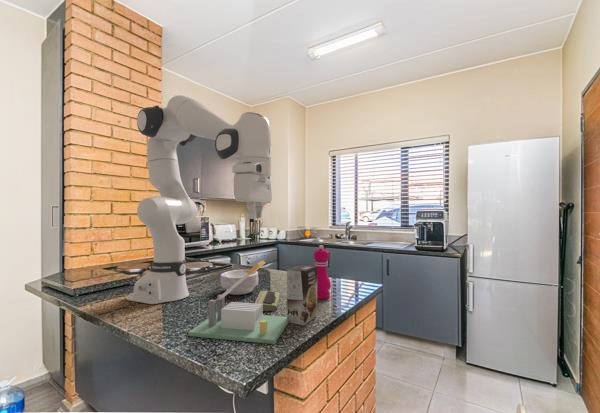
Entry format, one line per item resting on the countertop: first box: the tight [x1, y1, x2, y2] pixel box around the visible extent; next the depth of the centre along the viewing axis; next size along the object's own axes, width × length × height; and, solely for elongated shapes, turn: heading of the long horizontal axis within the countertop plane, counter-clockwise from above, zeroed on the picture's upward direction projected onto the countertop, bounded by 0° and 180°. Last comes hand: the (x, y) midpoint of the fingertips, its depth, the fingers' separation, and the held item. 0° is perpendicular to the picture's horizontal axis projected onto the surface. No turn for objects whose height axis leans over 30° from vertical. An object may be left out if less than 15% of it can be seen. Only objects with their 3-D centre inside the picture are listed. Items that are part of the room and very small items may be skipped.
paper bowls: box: [220, 269, 259, 296], centre depth 119 cm, size 15×15×8 cm
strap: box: [215, 260, 266, 305], centre depth 83 cm, size 19×5×1 cm
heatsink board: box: [187, 294, 290, 345], centre depth 82 cm, size 24×16×8 cm, turn 78°
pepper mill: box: [313, 244, 332, 300], centre depth 112 cm, size 7×7×20 cm
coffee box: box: [286, 264, 318, 326], centre depth 89 cm, size 9×6×16 cm
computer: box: [253, 290, 281, 312], centre depth 104 cm, size 16×8×3 cm, turn 0°
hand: (255, 218), depth 82 cm, fingers open, 3 cm apart
